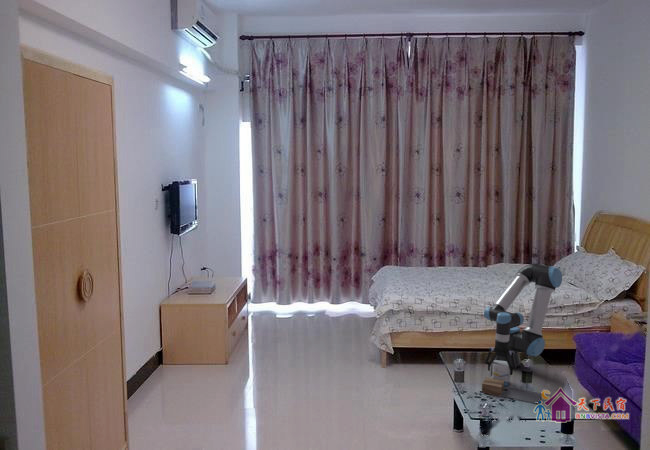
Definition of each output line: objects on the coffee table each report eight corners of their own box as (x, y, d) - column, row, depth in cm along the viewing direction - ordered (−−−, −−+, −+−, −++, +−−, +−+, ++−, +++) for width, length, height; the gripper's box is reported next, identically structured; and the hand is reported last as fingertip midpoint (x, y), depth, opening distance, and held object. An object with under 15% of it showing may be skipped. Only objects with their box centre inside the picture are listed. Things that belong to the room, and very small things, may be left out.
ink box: (507, 386, 323) (509, 366, 321) (492, 384, 325) (493, 365, 323) (506, 380, 331) (507, 360, 330) (491, 378, 333) (492, 359, 331)
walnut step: (485, 385, 324) (486, 377, 323) (504, 389, 319) (504, 380, 319) (481, 392, 315) (482, 383, 314) (500, 396, 311) (501, 387, 310)
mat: (509, 387, 322) (509, 386, 322) (541, 394, 314) (541, 393, 314) (504, 397, 310) (504, 396, 310) (537, 404, 302) (537, 403, 302)
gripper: (480, 338, 326) (478, 376, 329) (521, 345, 316) (519, 384, 319) (483, 334, 333) (481, 371, 336) (524, 341, 323) (521, 379, 326)
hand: (499, 378), depth 328 cm, fingers closed on ink box, 10 cm apart
